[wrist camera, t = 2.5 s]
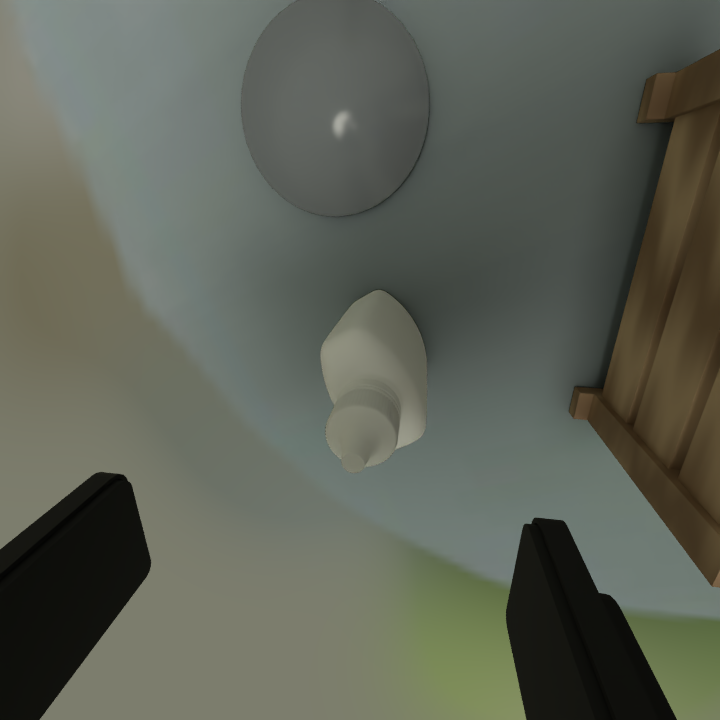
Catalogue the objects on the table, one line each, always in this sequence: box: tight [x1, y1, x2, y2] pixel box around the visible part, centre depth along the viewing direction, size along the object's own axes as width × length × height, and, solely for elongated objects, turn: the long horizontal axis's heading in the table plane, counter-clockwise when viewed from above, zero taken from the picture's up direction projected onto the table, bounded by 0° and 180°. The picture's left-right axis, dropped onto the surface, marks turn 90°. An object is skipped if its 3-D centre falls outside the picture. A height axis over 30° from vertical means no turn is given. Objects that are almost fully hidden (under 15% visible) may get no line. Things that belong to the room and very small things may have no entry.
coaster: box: [241, 0, 429, 216], centre depth 18 cm, size 9×9×1 cm
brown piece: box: [569, 49, 720, 587], centre depth 14 cm, size 16×3×11 cm, turn 0°
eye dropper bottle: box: [321, 290, 427, 473], centre depth 17 cm, size 4×6×12 cm
